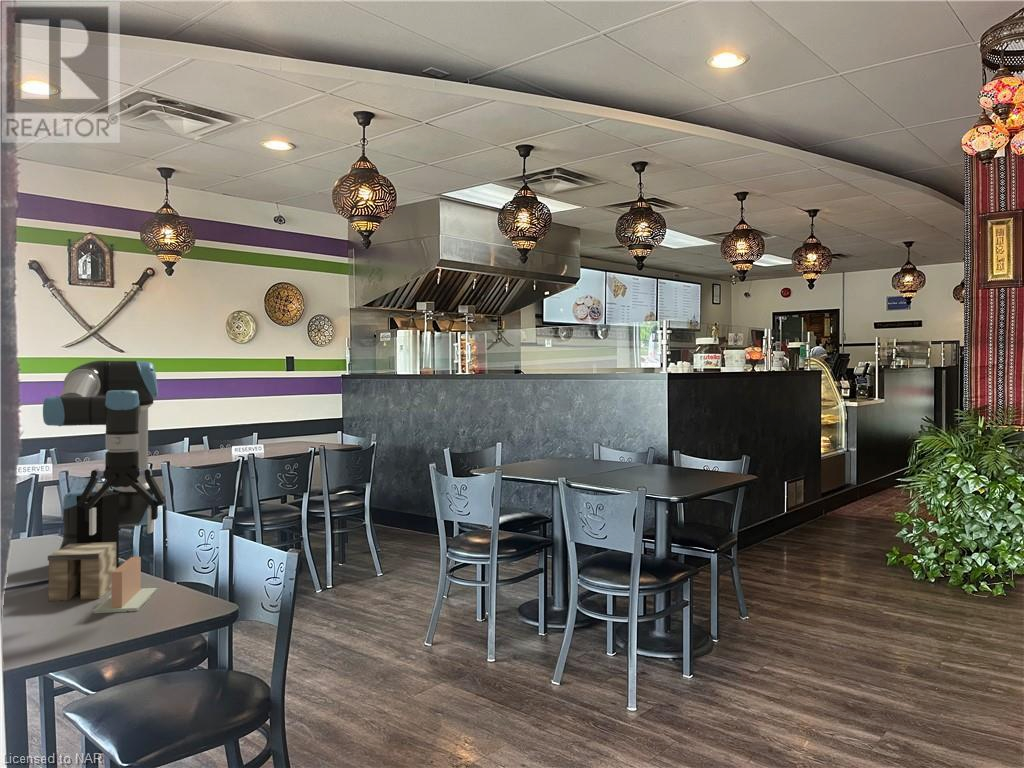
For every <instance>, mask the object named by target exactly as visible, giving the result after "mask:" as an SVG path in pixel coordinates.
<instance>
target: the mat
mask: <svg viewBox="0 0 1024 768" xmlns="http://www.w3.org/2000/svg"><path fill="white" fill-rule="evenodd" d="M156 590H157V591H158V587H149V588H146V587H145V588H141V590H140V591H139V592H138V593H137V594H136V595H135V596H134V597H132V598H131V599H130V600H129V601H128V602H127V603H126V604H125V605H124V606H123V607H122V608H111V596H112V594H111V595H109V596H108V597H107V598H106V599H105V600H104V601H103V602H102V603H100V604H99V605H98V606H97V607H96V608H94V609H93V614H106V613H110V614H111V613H127V611H129V612H138V611H139V610H140V609H141V608H142V607H143V606H144V605H145V604H146V603H147V602H146V601H147V600H148V599H149V600H150V599H151V597H152V596H153V595H154V594H155V593H156V592H157V591H156ZM155 591H156V592H155ZM154 592H155V593H154ZM153 593H154V594H153ZM152 594H153V595H152ZM151 595H152V596H151ZM150 596H151V597H150ZM149 600H148V601H149ZM145 602H146V603H145ZM144 603H145V604H144ZM143 604H144V605H143ZM142 605H143V606H142ZM141 606H142V607H141ZM140 607H141V608H140ZM139 608H140V609H139ZM138 609H139V610H138ZM137 610H138V611H137Z"/></svg>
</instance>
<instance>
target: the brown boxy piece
mask: <svg viewBox="0 0 1024 768" xmlns="http://www.w3.org/2000/svg"><path fill="white" fill-rule="evenodd" d="M47 561H48V602H56V601H57V602H59V601H60V600H63V601H68V600H70V599H71V598H72V597H73V596H75V595H76V594H78V593H79V592H80V600H81V601H82V600H98V599H100V598H102V597H103V596H104V595H105V594H107V592H109V591H110V590H112V572H113V571H114V570H115V569H116V542H103V543H75V544H68V545H67V546H65V547H63V548H61V549H60V548H59V549H58V550H55V552H54V551H53V552H52V553H51V554H49V555H47ZM69 598H70V599H69ZM60 602H61V601H60Z"/></svg>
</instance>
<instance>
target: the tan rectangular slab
mask: <svg viewBox="0 0 1024 768" xmlns="http://www.w3.org/2000/svg"><path fill="white" fill-rule="evenodd" d="M141 563H142V558H141V556H131V557H130V558H128V559H127V560H126V561H124V562H123V563H122V564H121V565H119V567H118V568H117V569H115V570H114V571H113V572H112V588H111V595H112V596H111V595H110V596H111V608H122V607H123V606H124V605H125V604H126V603H127V602H128V601H129V600H130V599H131V598H132V597H134V596H135V595H136V594H137V593H138V592H139V591H140V590H141V589H142V588H141V586H142V585H141V584H142V583H141V582H142V581H141V579H142V573H141V572H142V570H141V568H142V567H141V566H142V564H141Z"/></svg>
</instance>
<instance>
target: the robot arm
mask: <svg viewBox="0 0 1024 768" xmlns="http://www.w3.org/2000/svg"><path fill="white" fill-rule="evenodd" d="M158 388H159V387H158V380H157V373H156V368H155V366H154V364H153V363H152V362H150V361H143V360H94V361H90V362H86V363H82V364H81V365H78V366H76V367H74V368H73V369H71V370H70V371H69V372H68V373H67V374H66V376H65V377H64V380H63V389H62V391H61V393H59V394H60V395H59V396H58V395H57V396H47V397H45V398H44V400H43V404H42V418H43V419H42V420H43V423H44V424H45V425H47V426H53V427H54V426H55V427H56V426H57V427H62V426H63V427H67V426H68V427H71V426H105V450H106V453H104V454H105V455H104V456H105V457H104V458H105V464H104V465H105V468H104V470H103V469H102V470H101V469H99V468H96V469H93V470H91V472H90V478H89V481H88V483H87V484H86V486H85V488H84V487H83V488H79V489H77V490H72V491H69V492H68V493H66V494H65V495H64V497H63V503H62V507H61V508H62V513H63V516H62V517H63V518H62V519H63V523H62V525H63V527H62V532H63V533H62V542H61V544H60V547H59V549H61V548H63V547H65V546H67V545H68V544H75V543H77V506H78V507H83V508H84V509H85V520H86V522H88V521H89V535H94V534H95V533H96V508H92V507H93V506H94V504H95V503H96V502H97V501H98V500H99V499H100V498H101V497H102V496H103V495H104V494H105V492H119V528H120V527H133V526H134V527H135V526H136V527H139V526H144V525H147V526H146V528H147V534H151V533H153V532H154V527H155V526H154V525H155V524H154V521H155V520H157V519H158V517H159V506H163V505H164V504H165V503H166V502H167V501H166V499H165V496H164V495H163V493H162V491H161V490H160V487H159V485H158V483H157V481H156V480H155V478H154V475H153V474H154V473H153V469H152V468H149V408H150V407H151V406H152V405H154V399H157V398H158V397H159V389H158ZM102 476H103V477H104V478H105V479H106V480H107V481H106V482H105V483H104V484H102V488H101V489H100V490H99V491H98V492H97V493H96V494H95V495H94V496H93V497H92V498H91V500H90V501H89V502H86V501H87V499H88V498H89V496H90V494H91V493H92V492H96V488H95V485H96V483H98V481H99V479H101V478H102ZM111 487H112V490H109V489H110V488H111ZM79 495H81V497H80V499H79V501H78V502H77V496H79Z"/></svg>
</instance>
